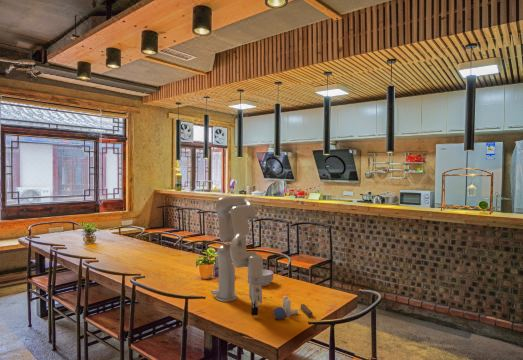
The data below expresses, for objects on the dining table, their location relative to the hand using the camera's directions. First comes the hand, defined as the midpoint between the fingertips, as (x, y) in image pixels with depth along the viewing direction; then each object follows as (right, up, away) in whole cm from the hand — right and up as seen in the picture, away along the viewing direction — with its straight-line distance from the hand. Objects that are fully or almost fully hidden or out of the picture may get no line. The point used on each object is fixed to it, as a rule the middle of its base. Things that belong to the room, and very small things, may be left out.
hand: (254, 314), depth 180 cm
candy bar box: (-27, +1, +73) cm, 78 cm away
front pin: (+14, -1, +4) cm, 14 cm away
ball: (+13, +1, -1) cm, 13 cm away
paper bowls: (+4, 0, +54) cm, 54 cm away
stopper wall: (+27, -2, +7) cm, 28 cm away
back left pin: (+16, -2, +7) cm, 18 cm away
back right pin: (+17, -2, +2) cm, 18 cm away
